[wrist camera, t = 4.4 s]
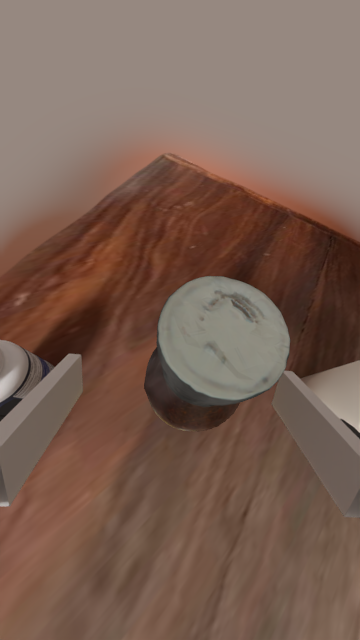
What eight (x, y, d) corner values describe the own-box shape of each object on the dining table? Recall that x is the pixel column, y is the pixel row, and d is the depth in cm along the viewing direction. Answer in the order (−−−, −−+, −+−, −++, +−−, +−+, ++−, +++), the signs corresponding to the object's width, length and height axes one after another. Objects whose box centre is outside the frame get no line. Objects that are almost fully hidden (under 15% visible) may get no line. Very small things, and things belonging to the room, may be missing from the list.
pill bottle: (-6, 404, 22) (-114, 391, 13) (23, 355, 24) (-52, 318, 16) (44, 417, 22) (-32, 413, 13) (68, 367, 24) (18, 336, 15)
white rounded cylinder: (295, 367, 27) (354, 343, 19) (347, 399, 26) (434, 389, 18) (276, 416, 24) (336, 414, 16) (334, 455, 23) (430, 474, 15)
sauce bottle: (198, 364, 26) (287, 235, 8) (213, 418, 23) (395, 402, 6) (145, 376, 25) (114, 255, 7) (156, 435, 22) (151, 485, 4)
